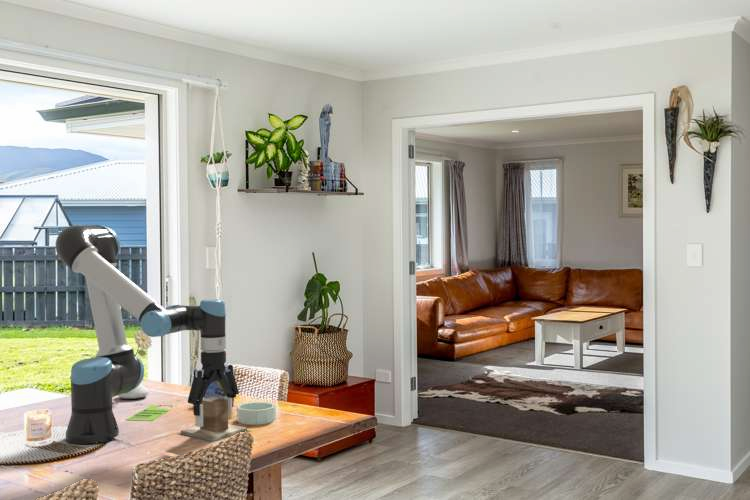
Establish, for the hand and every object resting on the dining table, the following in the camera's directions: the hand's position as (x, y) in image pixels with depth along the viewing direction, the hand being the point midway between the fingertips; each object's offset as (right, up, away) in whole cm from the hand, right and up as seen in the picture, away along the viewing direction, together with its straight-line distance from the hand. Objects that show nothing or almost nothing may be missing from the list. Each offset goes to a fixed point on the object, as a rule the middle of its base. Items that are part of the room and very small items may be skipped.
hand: (214, 422), depth 250 cm
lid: (0, -3, 0) cm, 3 cm away
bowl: (+11, -3, +16) cm, 19 cm away
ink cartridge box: (-7, -3, +47) cm, 48 cm away
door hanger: (-27, -4, +31) cm, 41 cm away
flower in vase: (-40, -2, +55) cm, 68 cm away
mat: (0, -4, 0) cm, 4 cm away
